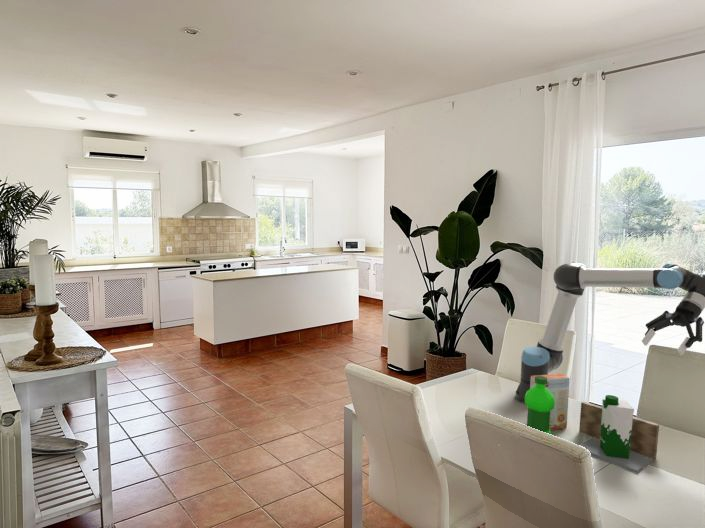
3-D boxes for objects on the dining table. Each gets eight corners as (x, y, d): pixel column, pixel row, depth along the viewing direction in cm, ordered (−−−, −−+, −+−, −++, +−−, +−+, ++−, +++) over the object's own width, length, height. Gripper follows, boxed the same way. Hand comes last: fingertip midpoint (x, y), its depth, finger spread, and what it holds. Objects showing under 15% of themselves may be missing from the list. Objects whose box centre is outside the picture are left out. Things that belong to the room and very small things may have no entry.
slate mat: (576, 449, 169) (576, 446, 169) (592, 439, 178) (592, 437, 178) (637, 473, 154) (637, 470, 154) (651, 461, 162) (651, 458, 162)
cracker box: (557, 422, 192) (560, 372, 190) (567, 429, 186) (570, 377, 184) (526, 425, 189) (530, 374, 187) (536, 431, 183) (539, 379, 181)
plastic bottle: (546, 453, 166) (551, 384, 163) (517, 443, 172) (521, 377, 170) (555, 444, 173) (560, 378, 171) (527, 434, 180) (531, 371, 178)
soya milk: (596, 445, 171) (600, 392, 169) (623, 448, 169) (628, 394, 167) (604, 457, 162) (608, 401, 160) (633, 460, 160) (637, 403, 159)
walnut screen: (579, 432, 184) (581, 402, 183) (581, 430, 185) (583, 401, 184) (654, 458, 164) (657, 425, 163) (656, 457, 165) (659, 424, 164)
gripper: (731, 319, 170) (700, 363, 165) (663, 307, 193) (634, 345, 189) (723, 305, 167) (691, 350, 163) (655, 294, 190) (626, 333, 186)
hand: (661, 347), depth 176 cm, fingers open, 13 cm apart
